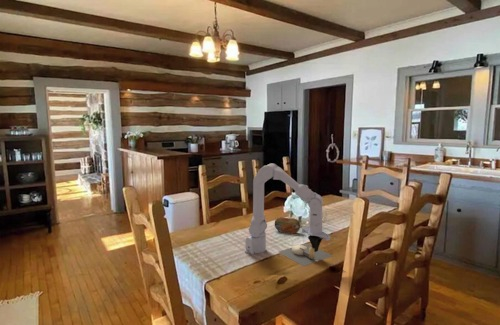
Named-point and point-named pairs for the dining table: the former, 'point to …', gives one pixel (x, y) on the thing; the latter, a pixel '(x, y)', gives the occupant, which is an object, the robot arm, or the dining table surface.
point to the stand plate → (304, 259)
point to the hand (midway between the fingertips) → (315, 251)
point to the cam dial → (303, 251)
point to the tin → (287, 225)
